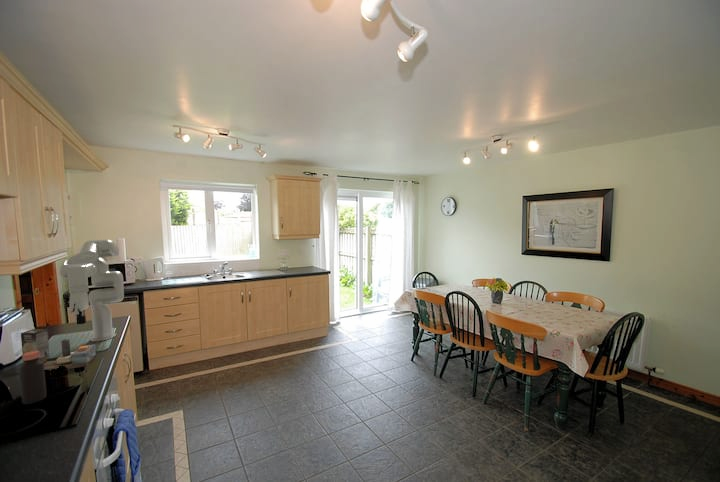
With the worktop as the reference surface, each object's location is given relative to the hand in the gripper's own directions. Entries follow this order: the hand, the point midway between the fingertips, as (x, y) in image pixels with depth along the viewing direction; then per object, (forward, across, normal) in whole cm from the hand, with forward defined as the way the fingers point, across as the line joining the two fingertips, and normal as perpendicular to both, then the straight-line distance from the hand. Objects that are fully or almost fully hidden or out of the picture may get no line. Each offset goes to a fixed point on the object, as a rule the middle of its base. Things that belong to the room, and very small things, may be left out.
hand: (81, 323), depth 159 cm
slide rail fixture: (+21, 0, -8) cm, 23 cm away
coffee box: (+21, -16, -26) cm, 37 cm away
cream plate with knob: (+18, 0, -7) cm, 19 cm away
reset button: (+16, 0, 0) cm, 16 cm away
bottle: (+21, +36, -4) cm, 42 cm away
